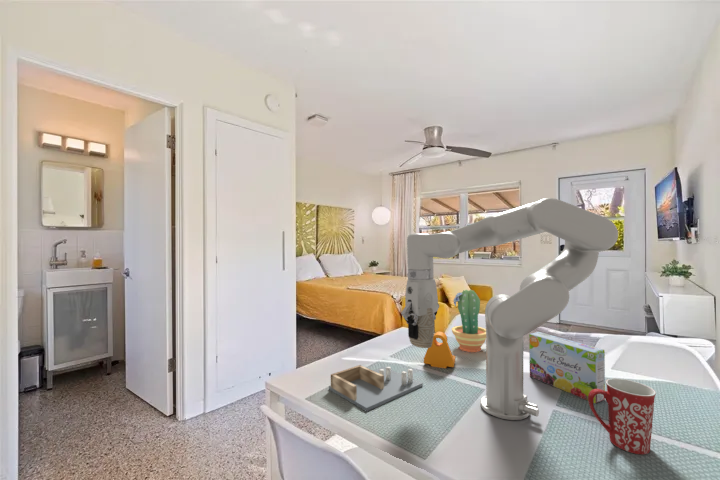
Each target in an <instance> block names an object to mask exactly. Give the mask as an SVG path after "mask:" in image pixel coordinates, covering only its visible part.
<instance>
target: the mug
mask: <svg viewBox="0 0 720 480" xmlns="http://www.w3.org/2000/svg"><path fill="white" fill-rule="evenodd" d="M605 386H606V390H605V391H604V390H601V389H593V390H591V391H590V393H589V395H588V401H587V402H588V406H589V409H590V410H591V412H592V414H593V415H594V417H595V418H596V420H597V421H598V423H600V425H601V426H602V427H603V428H604V429H605V431H606V432H608V436H609V440H610V442H611V443H612V444H613V445H614V446H615V447H617V448H619V449H621V450H623V451H626V452H629V453H632V454H635V455H648V454H649V453H650V452H651V444H652V433H653V432H652V431H653V420H654V410H655V397H656V395H657V392H656V390H655V389H654V388H652V387H651V386H649V385H647V384H644V383H641V382H637V381H635V380H630V379H624V378H616V377H615V378H608V379H605ZM597 394H603V396H604V397H605V402H606V403H607V411H608V412H607V414H608V424H607V423H606V422H605V421H604V420H603V419H602V418H601V416H600V415H599V414H598V412H597V411H596V408H595V406H594V403H593V399H594V397H595V395H597Z"/></svg>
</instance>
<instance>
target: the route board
mask: <svg viewBox="0 0 720 480" xmlns="http://www.w3.org/2000/svg"><path fill="white" fill-rule="evenodd" d="M372 371H375V372H377V373H379V374H382V375H384V388H383V389H380V388H378V387H376V386H374V385H372V384H370V383H368V382H366V381H364V380H362V379H357V380H354V381H351V382H350V383H352V384H354V385H356V386H357V400H352V399H350V398H349V397H347V396H345V395H343V394H342V393H340V392H338V391H336V390H335V389H333V388H331V385H329V386H328V390H330V391H331V392H332V393H334V394H336V395H338V396H340V397H341V398H343V399H344V400H346V401H348V402H350V403H352V404H353V405H355V406H356V407H358V408H360V409H362V410H363V411H365V412H368V411H371V410H373V409H376V408H378V407H380V406H382V405H384V404H386V403H388V402H391V401H393V400H395V399H397V398H400V397H402V396H404V395H406V394H408V393H411V392H413V391H415V390H418V389H420V388H421V387H422V388H423V385H424V384H423V382H421V381H418V380H416V379H414V377H413V376H414V370H413V369H412V368H409V369H408V368H407V371H405V370H404V371H403V370H402V371H401V373H400V372H397V371H394V370H393V369H392V367H391V366H386V367H385V366H382V367H379V368H376V369H374V370H372Z"/></svg>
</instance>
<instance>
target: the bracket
mask: <svg viewBox="0 0 720 480" xmlns="http://www.w3.org/2000/svg"><path fill="white" fill-rule="evenodd" d="M437 339H440V340H441V342H439V341H438V340H437ZM455 363H456V355H453V353H452V351H451V347H450V346H449V343H448V336H447V334H446V333H445V332H443V331H437V332H435V333H434V337H433V342H432V346H431V347H430V348H426V351H425V355H424V357H423V364H427V365H430V367H433V368H439V369H447V368H448V367H449V368H454V367H455Z"/></svg>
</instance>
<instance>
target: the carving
mask: <svg viewBox="0 0 720 480" xmlns="http://www.w3.org/2000/svg"><path fill="white" fill-rule="evenodd" d="M412 313H414V312H412ZM412 319H414V316H412ZM434 322H435V320H434V317H433V310H432V308H428V309H427V314H426V315H424V316H418V320H417V323H416V325H418V339H413V338H410V337H409V336H408V339H409V342H410V344H411V345H412V346H414V347H417V348H420V349H428V348H430V347H431V346H432V342H433V337H434V334H435V333H434Z"/></svg>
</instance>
